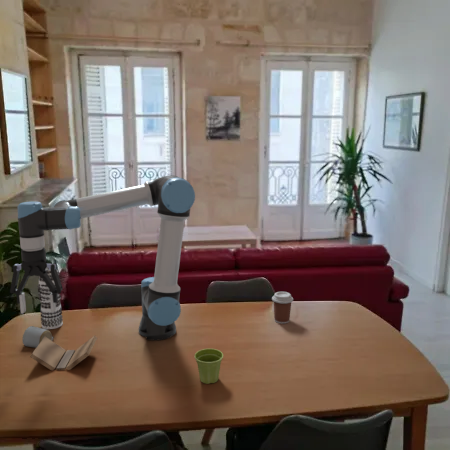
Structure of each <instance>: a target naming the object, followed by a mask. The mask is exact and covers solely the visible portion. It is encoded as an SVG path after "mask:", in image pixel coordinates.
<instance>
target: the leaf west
mask: <svg viewBox="0 0 450 450" xmlns="http://www.w3.org/2000/svg"><path fill="white" fill-rule="evenodd" d="M97 339H98V337H97V336H96V335H95V334H94V335H93V336H92V337H90V339H88V340H87V341H85V342H84V343H83V344H82V345H80V346H79V347H77V348H76V349H75V352H74V354H73V356H72V358H71V360H70V361H69V363H68V365H67V367H66V370H67V371H70V370H72V369H73V368H75V366H77V365H78V364H79V363H81V362H82V361H84V360H85V359H86V358H87V357H89V356H90V354H91V352H92V350H93V347H94V346H95V344H96V342H97Z"/></svg>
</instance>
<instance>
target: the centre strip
mask: <svg viewBox="0 0 450 450" xmlns="http://www.w3.org/2000/svg"><path fill="white" fill-rule="evenodd" d="M75 351H76V349H67V350H66V351H65V352H64V354H63V356H62V357H61V359H60V361H59V362H58V364H57V366H56V367H55V369H56V371H65V370H67V368H66V367H67V365H68V363H69V361H70V360H71V358H72V356H73V354H74V352H75Z"/></svg>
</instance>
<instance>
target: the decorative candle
mask: <svg viewBox="0 0 450 450" xmlns="http://www.w3.org/2000/svg"><path fill="white" fill-rule="evenodd" d="M45 270H46V272H47V273H48V276H49V277H50V279H51V280H52V282H53V283H54V280H53V278H52V275H51V270H49V268H48V267H47V268H46V269H45ZM56 270H57V273H58V274H59V270H58V269H56ZM60 281H61V279H60ZM54 285H55V283H54ZM55 287H56V286H55ZM37 293H38V300H39V301H40V321H41V322H40V324H41V328H42V329H46V330H53V329H54V330H55V329H58V328H60V327H62V326H63V322H64V321H63V320H64V319H63V315H62V314H63V309H62V304H61V299H62V295H61V294H62V291H61V292H58V293H57V294H58V301H57V302H56V303H55V305H56V310H55V312H54V313H51V304H50V294H51V293H52V292H51V291H50V289H49V288H48V286H47V285H46V283H45V282H44V280H43V279H42V278H41V277H40V276H38V285H37Z"/></svg>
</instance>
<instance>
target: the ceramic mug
mask: <svg viewBox="0 0 450 450" xmlns="http://www.w3.org/2000/svg"><path fill="white" fill-rule="evenodd" d="M44 337H47V338H48V339H50V340H51V341H53V340H54V336H53V335H52V333H51V331H50V330H49V329H44V328H42V327H37V326H34V325H32V326H28V327H27V328H26V329H25V330H24V332H23V335H22V344H23V345H24V346H25V347H29V348H35V349H36V348H37V346H38V345H39V344H40V342H41V341H42V340H43V338H44Z"/></svg>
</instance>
